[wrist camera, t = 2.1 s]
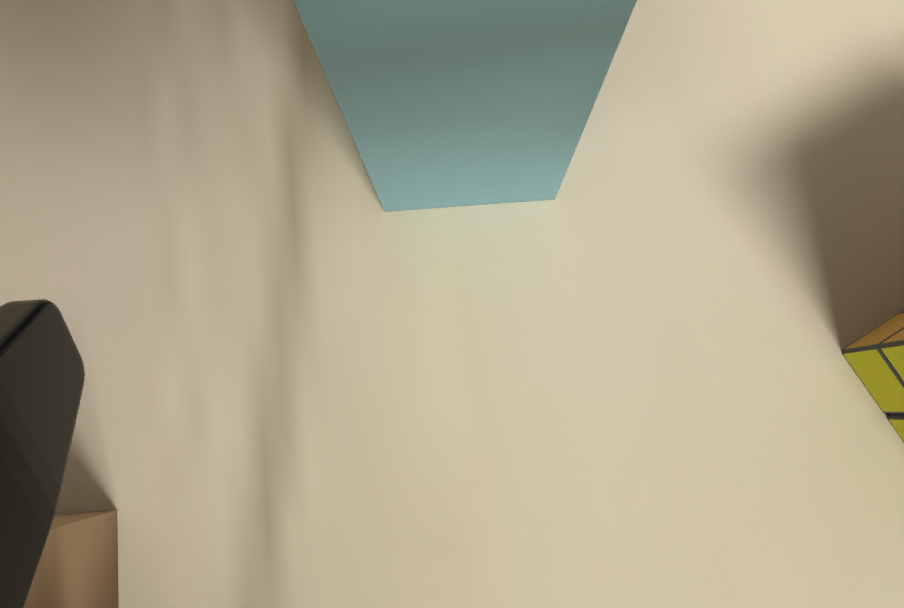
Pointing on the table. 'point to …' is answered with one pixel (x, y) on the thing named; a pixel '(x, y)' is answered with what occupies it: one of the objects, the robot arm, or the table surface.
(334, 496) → the table surface
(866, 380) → the puzzle toy
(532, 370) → the table surface
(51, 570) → the walnut cube
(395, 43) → the teal block
